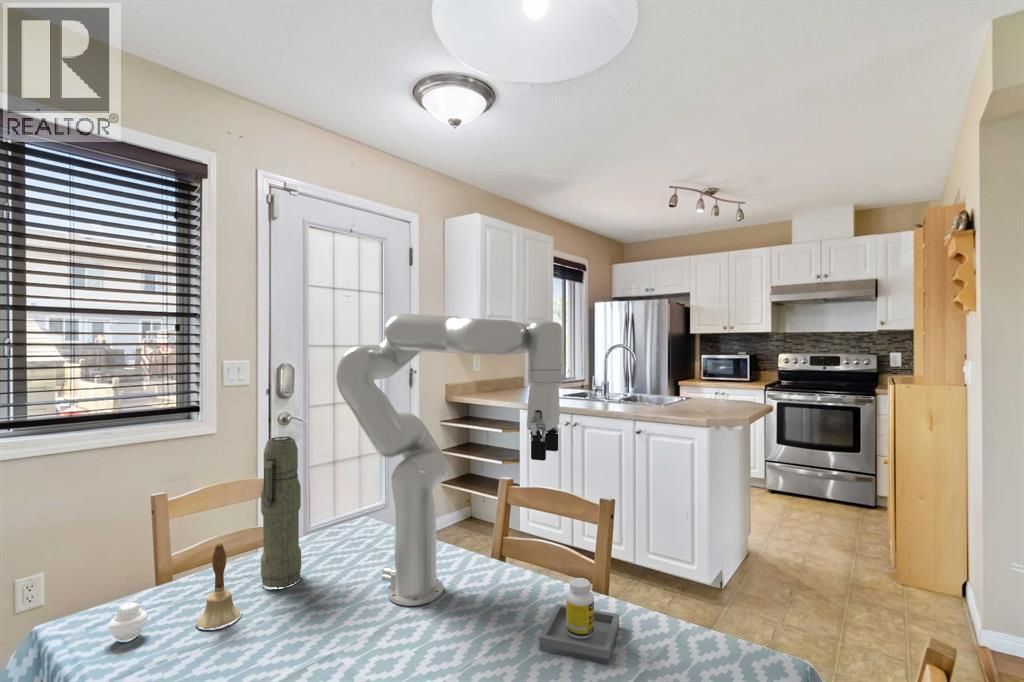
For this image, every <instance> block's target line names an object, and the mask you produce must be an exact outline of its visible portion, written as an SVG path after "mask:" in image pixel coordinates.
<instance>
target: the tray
mask: <svg viewBox="0 0 1024 682" xmlns="http://www.w3.org/2000/svg"><path fill="white" fill-rule="evenodd" d="M619 629H620V613H619V614H618V613H613V612H607V611H601V610H596V609H594V633H593V635H592V636H591V637H590V638H587V639H576V638H573V637H571V636H570V635H569V634H568V633H567V631H566V604H563V603H557V604H556V605H555V607H554V609H553V611H552V613H551V615H550V617H548V619H547V622H546V624H545V626H544V628H543V629H542V631H541V633H540V635H539V637H538V638H539V641H538V642H539V646H538V647H539V648H538V649H539V651H540V652H546V653H552V654H555V655H560V656H564V657H565V656H566V657H570V658H574V659H579V660H584V661H588V662H594V663H597V664H603V665H607V666H610V662H611V658H612V655H613V652H614V649H615V644H616V641H617V637H618V633H619V631H620V630H619Z"/></svg>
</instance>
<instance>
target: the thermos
mask: <svg viewBox="0 0 1024 682" xmlns="http://www.w3.org/2000/svg"><path fill="white" fill-rule="evenodd" d="M298 453H299V449H298V445H297V443H296V440H295V438H293V437H291V436H275V437H271V438H270V439H269V440H267V441H266V444H265V447H264V449H263V483H262V487H261V488H260V489H261V490H260V512H261V514H262V518H263V519H262V520H263V523H262V525H263V528H262V531H263V533H262V534H263V535H262V536H263V538H262V539H263V544H262V546H263V547H262V549H263V550H262V551H263V552H262V553H261V554H262V555H261V557H260V576H261V584H262V583H263V585H265V586H268V587H277V588H279V587H286V586H289V585H291V584H294V583H295V582H297V581H298V580H299V579H300V580H301V578H300V576H301V570H302V550H301V547H300V545H299V544H300V537H299V536H300V534H299V531H300V530H299V529H300V528H299V526H300V523H299V520H300V519H299V518H300V517H299V515H300V514H299V513H300V509H301V504H302V501H301V500H302V499H301V496H302V495H301V493H302V492H301V490H302V489H301V484H300V480H299V474H298V469H299V468H298V467H299V465H298V464H299V459H298V458H299V454H298Z"/></svg>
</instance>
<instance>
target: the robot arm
mask: <svg viewBox="0 0 1024 682" xmlns="http://www.w3.org/2000/svg"><path fill="white" fill-rule="evenodd" d="M383 334H384V337H385V339H384V340H383V341H382V342H381V343H380V344H363V345H362V344H361V345H358V346H354V347H351V348H350V349H349V350H347V351H346V352H345V353H343V355H342V356H341V358H340V360H339V362H338V365H337V368H336V375H335V378H336V386H337V388H338V391H339V394H340V395H341V397H342V399H343V401H345V403H346V404H347V406H348V407H349V410H351V412H352V413H353V416H355V418H356V420H357V421H358V424H359V425H360V427H361V429H362V431H363V432H364V434H365V436H366V437H367V438H368V440H369V442H370V443H371V445H372V447H373V448H374V450H375V451H376V452H377V454H378V455H380V456H381V457H383V458H385V459H386V458H387V459H392V458H396V457H399V456H401V458H402V460H401V461H399V462H398V464H397V465H396V466H395V467H394V469H393V472H392V474H391V477H390V490H391V497H392V502H393V503H392V504H393V512H394V513H393V514H394V515H393V517H394V518H393V519H394V523H393V525H394V569H393V568H390V567H385V568H384V569H383V571H382V575H381V581H384V582H389V583H390V586H389V587H388V590H387V597H388V599H389V600H390V601H391V602H393V603H394V604H397V605H398V606H399V605H400V606H405V607H406V606H407V607H410V606H421V605H425V604H426V605H427V604H429V603H431V602H434V601H435V600H437V599H439V598H440V597H441V595H442V594H443V592H444V584H443V582H442V581H441V580H440V579H439V578H437V509H436V504H435V499H434V489H435V488H436V487H438V486H439V485H440V484H441V483H442V482H443V481H444V480H445V477H446V475H447V472H448V463H447V460H446V456H445V455H444V453H443V451H442V449H440V447H439V445H438V444H437V442H436V441H435V439H434V437H433V436H432V434H431V433H430V431H429V430H428V428H427V427H426V425H425V424H424V422H423V421H422V420H421V419H420V418H419V417H417V415H415V414H413V413H411V412H400V413H399V412H397V411H396V409H395V407H394V405H392V402H391V400H390V399H389V398H388V396H387V395H386V394H385V392H383V390H381V388H379V387H378V386H377V384H376V382H375V380H382V379H387V378H390V377H392V376H394V375H396V374H397V373H398V372H399V371H400V370H401V369H403V368H404V367H405V366H406V365H407V364H409V363H410V362H411V361H412V360H413V359H414V358H415V357H416V356H418V355H419V354H420V353H421V352H430V353H431V352H432V353H445V354H460V353H463V354H464V353H465V354H466V353H467V354H478V355H479V354H481V355H496V356H512V355H519V354H528V356H527V366H528V368H527V381H528V382H527V384H528V385H529V390H528V395H527V397H528V398H527V418H526V428H527V429H528V431H530V432H529V434H530V459H531V460H532V461H534V460H535V461H546V459H547V451H548V452H549V451H550V452H558V451H559V427H558V425H559V424H560V418H561V417H560V416H561V415H560V412H561V411H560V387H559V386H560V385H561V386H562V385H563V327H562V325H561V324H560V323H559V322H557V321H535V322H532V323H529V322H528V323H527V322H519V321H514V320H507V319H490V318H471V317H469V318H468V317H459V316H456V315H455V316H454V315H438V314H437V315H434V314H414V313H411V314H410V313H402V314H396V315H393V316H392V317H391V318H389V319H388V321H387V322H386V323H385V326H384V333H383Z"/></svg>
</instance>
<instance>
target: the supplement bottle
mask: <svg viewBox="0 0 1024 682" xmlns="http://www.w3.org/2000/svg"><path fill="white" fill-rule="evenodd" d="M565 597H566V598H565V601H566V604H565V605H566V631H567V633H568V634H569V635H570V636H571V637H573V638H576V639H587V638H590V637H591V636H592V635H593V633H594V610H595V598H594V594H593V593H592V592H591V581H589V580H588V579H587V578H584V577H574V578H572V579H570V581H569V590H568V591H567V593H566V596H565Z"/></svg>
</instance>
